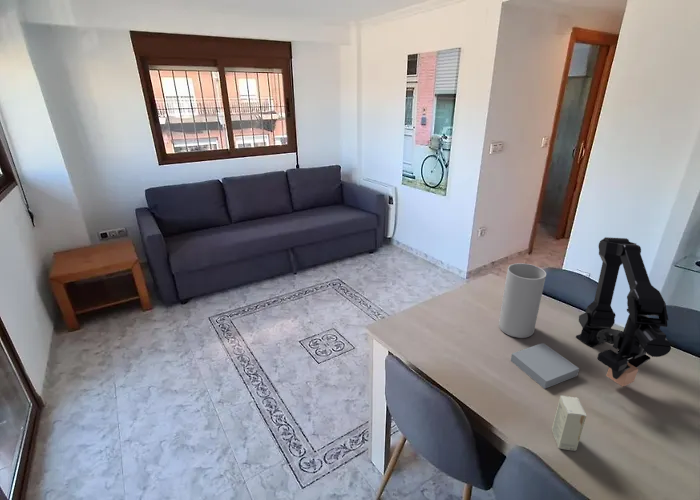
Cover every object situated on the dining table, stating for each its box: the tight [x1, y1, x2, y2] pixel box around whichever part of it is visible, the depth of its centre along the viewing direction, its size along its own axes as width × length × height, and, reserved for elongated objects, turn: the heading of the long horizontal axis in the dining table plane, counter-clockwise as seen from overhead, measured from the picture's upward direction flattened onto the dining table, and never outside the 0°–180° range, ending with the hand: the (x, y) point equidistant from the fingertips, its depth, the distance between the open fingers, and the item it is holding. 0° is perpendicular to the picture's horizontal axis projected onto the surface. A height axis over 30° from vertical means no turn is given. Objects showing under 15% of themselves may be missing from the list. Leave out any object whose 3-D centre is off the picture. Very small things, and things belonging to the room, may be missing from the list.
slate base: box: [510, 342, 580, 389], centre depth 120 cm, size 14×14×3 cm
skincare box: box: [551, 394, 587, 451], centre depth 94 cm, size 6×4×12 cm
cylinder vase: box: [498, 262, 547, 339], centre depth 136 cm, size 12×12×25 cm
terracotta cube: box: [605, 362, 639, 388], centre depth 111 cm, size 5×5×5 cm
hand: (620, 375), depth 111 cm, fingers closed on terracotta cube, 5 cm apart
